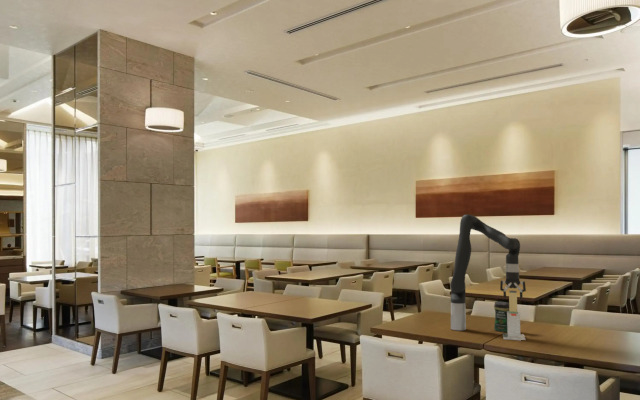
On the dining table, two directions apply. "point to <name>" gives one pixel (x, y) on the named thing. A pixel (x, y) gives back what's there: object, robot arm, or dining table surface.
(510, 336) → the stand
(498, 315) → the coffee jar
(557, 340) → the dining table surface
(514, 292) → the post
